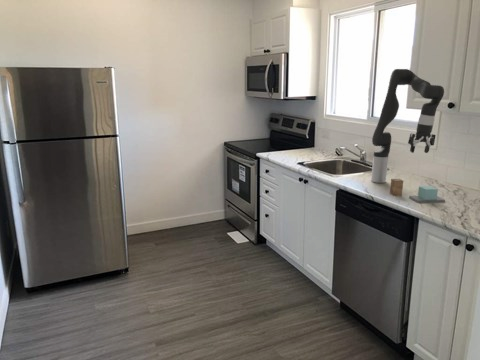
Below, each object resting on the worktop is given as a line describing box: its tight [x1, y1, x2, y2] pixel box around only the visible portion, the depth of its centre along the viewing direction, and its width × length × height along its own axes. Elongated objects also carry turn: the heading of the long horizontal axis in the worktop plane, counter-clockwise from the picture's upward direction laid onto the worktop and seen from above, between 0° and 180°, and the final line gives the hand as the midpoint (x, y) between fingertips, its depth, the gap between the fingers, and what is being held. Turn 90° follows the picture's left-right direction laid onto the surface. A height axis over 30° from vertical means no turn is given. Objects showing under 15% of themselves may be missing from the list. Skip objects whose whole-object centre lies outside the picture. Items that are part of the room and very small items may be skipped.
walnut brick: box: [389, 178, 404, 197], centre depth 229 cm, size 5×5×9 cm
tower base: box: [408, 185, 446, 204], centre depth 219 cm, size 9×16×7 cm, turn 96°
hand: (418, 152), depth 213 cm, fingers open, 8 cm apart
